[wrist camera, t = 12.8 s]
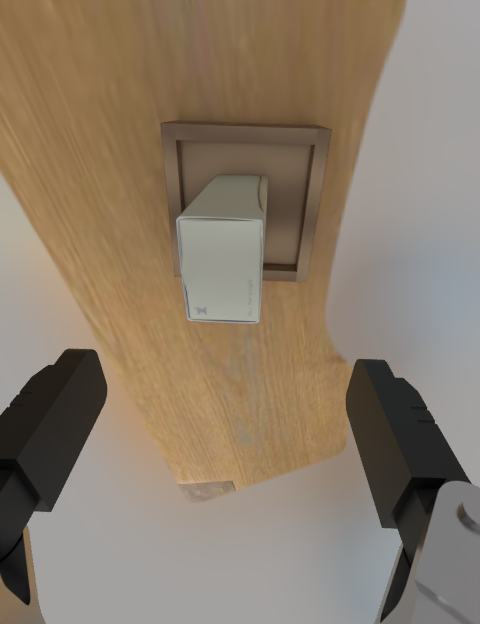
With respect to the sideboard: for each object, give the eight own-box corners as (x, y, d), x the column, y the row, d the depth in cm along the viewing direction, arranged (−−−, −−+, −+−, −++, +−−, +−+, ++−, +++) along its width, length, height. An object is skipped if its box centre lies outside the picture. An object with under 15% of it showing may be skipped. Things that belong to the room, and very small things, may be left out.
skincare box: (264, 247, 28) (262, 328, 18) (215, 246, 28) (186, 324, 18) (268, 171, 25) (267, 219, 15) (212, 171, 25) (173, 217, 15)
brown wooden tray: (176, 120, 27) (160, 123, 22) (318, 125, 26) (331, 129, 22) (185, 253, 33) (174, 276, 29) (299, 257, 33) (306, 282, 28)
